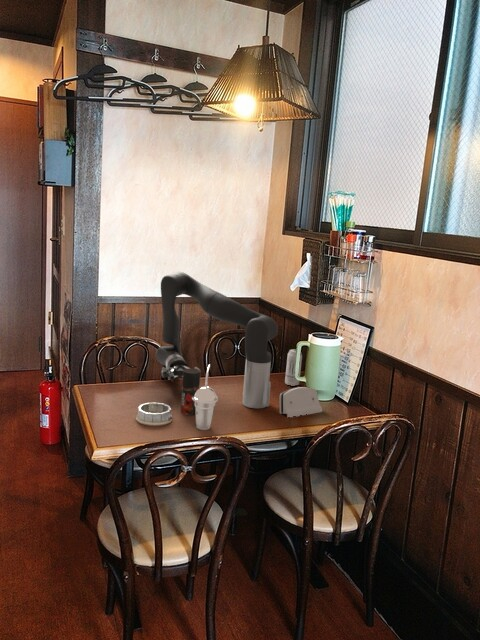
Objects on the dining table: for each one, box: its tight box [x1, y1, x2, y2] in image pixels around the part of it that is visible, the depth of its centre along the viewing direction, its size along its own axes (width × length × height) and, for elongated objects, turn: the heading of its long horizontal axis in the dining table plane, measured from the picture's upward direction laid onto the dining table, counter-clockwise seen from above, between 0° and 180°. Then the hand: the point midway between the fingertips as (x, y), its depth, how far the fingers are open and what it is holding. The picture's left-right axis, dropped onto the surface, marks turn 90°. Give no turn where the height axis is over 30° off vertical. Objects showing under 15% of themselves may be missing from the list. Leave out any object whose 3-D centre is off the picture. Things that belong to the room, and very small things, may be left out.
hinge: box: [278, 386, 323, 418], centre depth 199 cm, size 17×5×10 cm, turn 123°
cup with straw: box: [192, 364, 219, 431], centre depth 176 cm, size 8×9×20 cm
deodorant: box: [180, 367, 201, 416], centre depth 188 cm, size 6×6×15 cm
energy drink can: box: [284, 348, 303, 386], centre depth 228 cm, size 6×6×15 cm
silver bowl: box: [135, 401, 173, 427], centre depth 181 cm, size 12×12×4 cm
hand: (184, 378), depth 197 cm, fingers open, 8 cm apart
